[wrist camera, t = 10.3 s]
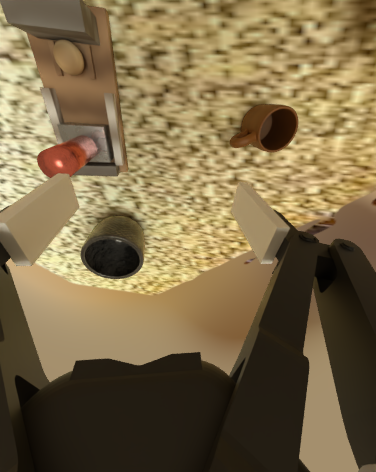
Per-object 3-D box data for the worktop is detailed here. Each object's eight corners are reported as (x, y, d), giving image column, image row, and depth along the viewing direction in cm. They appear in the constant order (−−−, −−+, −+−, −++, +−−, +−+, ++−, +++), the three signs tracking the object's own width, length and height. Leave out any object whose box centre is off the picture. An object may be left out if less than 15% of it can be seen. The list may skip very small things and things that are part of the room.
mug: (224, 155, 43) (237, 166, 36) (217, 119, 38) (231, 123, 31) (273, 137, 42) (298, 145, 34) (273, 98, 37) (301, 97, 30)
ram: (66, 122, 34) (9, 134, 21) (108, 124, 35) (77, 138, 22) (76, 155, 38) (32, 183, 25) (114, 157, 39) (90, 184, 26)
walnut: (67, 36, 28) (54, 26, 25) (92, 60, 30) (83, 54, 26) (56, 62, 29) (43, 55, 26) (81, 83, 31) (71, 80, 28)
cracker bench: (23, 1, 27) (-28, -35, 20) (108, 13, 28) (89, -17, 21) (73, 167, 41) (55, 181, 34) (128, 169, 42) (121, 183, 35)
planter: (92, 239, 53) (75, 272, 43) (102, 199, 46) (85, 227, 36) (138, 252, 58) (133, 284, 48) (154, 217, 51) (152, 247, 41)
